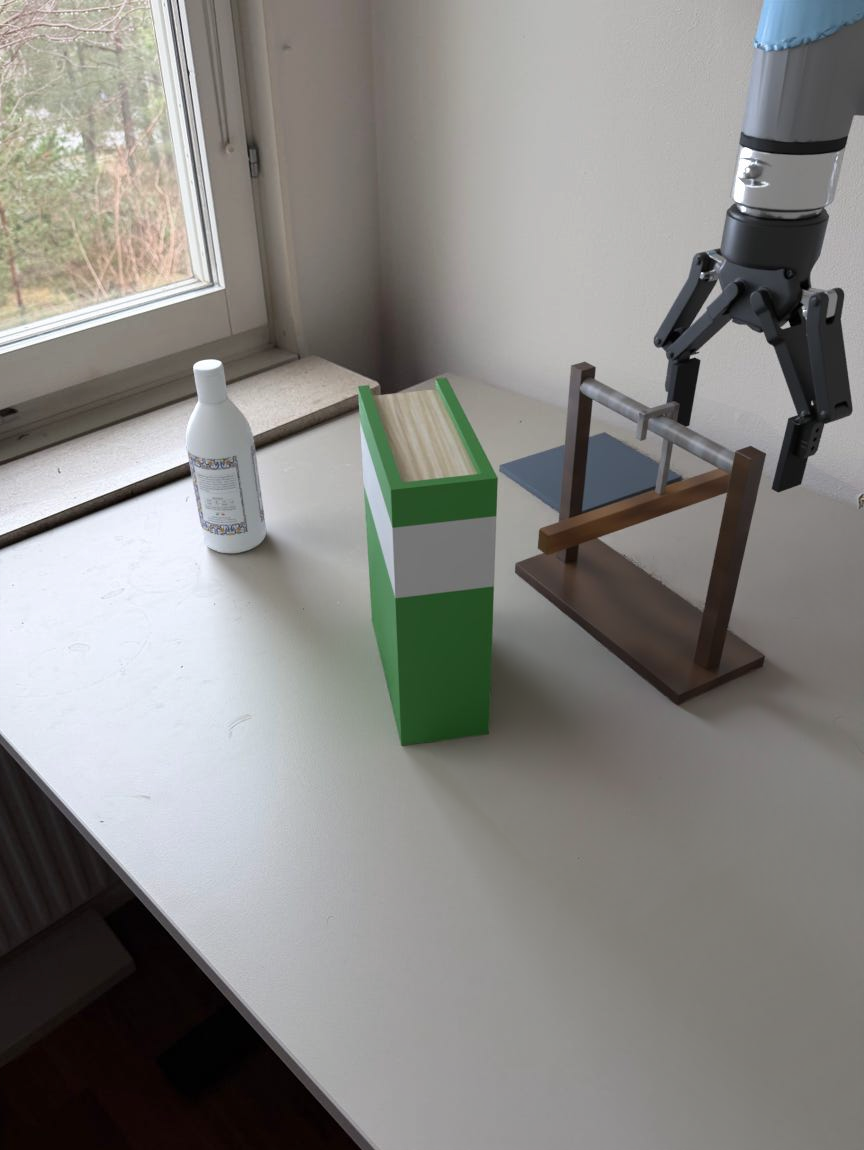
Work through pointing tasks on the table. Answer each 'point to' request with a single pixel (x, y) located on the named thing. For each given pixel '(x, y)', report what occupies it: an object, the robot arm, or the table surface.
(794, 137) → the robot arm
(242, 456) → the bath foam
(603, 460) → the mat
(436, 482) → the hardback book
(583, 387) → the rail stand
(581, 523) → the hanger
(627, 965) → the table surface
